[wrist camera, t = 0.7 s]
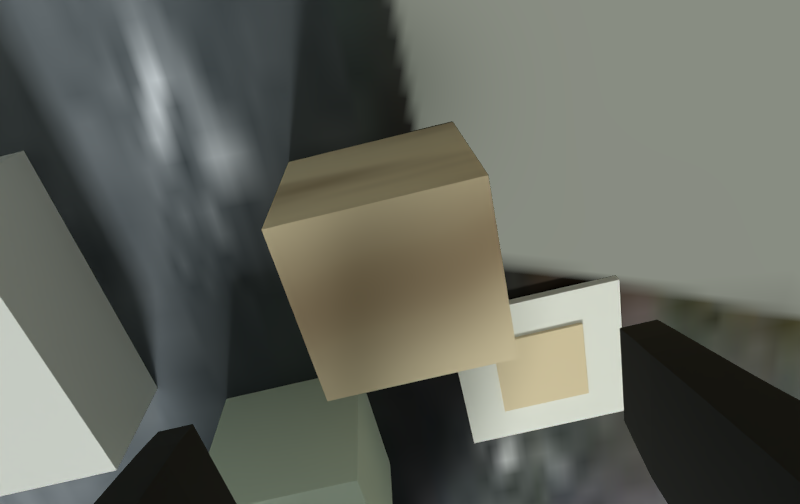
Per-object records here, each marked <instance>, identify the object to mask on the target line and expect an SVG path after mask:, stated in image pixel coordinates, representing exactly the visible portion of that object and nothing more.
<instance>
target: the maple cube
mask: <svg viewBox="0 0 800 504" xmlns="http://www.w3.org/2000/svg"><path fill="white" fill-rule="evenodd" d="M262 232H263V235H264V238H265V240H266V243H267V245H268V248H269V251H270V253H271V256H272V258H273V261H274V264H275V266H276V269H277V271H278V274H279V277H280V279H281V282H282V284H283V287H284V290H285V292H286V295H287V298H288V300H289V303H290V305H291V308H292V311H293V313H294V316H295V318H296V321H297V324H298V326H299V329H300V331H301V334H302V337H303V339H304V342H305V344H306V347H307V350H308V352H309V355H310V357H311V360H312V363H313V365H314V368H315V370H316V373H317V376H318V378H319V381H320V384H321V386H322V389H323V391H324V394H325V397H326V399H327V401H331V400H336V399H340V398H345V397H349V396H354V395H358V394H363V393H367V392H371V391H376V390H380V389H385V388H389V387H394V386H398V385H403V384H407V383H411V382H416V381H420V380H425V379H429V378H434V377H438V376H443V375H447V374H451V373H456V372H460V371H465V370H469V369H474V368H478V367H483V366H487V365H491V364H496V363H500V362H505V361H509V360H514V359H518V355H517V349H516V342H515V336H514V330H513V324H512V318H511V312H510V305H509V299H508V293H507V287H506V281H505V275H504V268H503V262H502V256H501V251H500V244H499V238H498V231H497V225H496V220H495V213H494V207H493V201H492V194H491V188H490V182H489V177H488V174H487V172H486V171H485V169H484V168H483V166H482V165H481V163H480V162H479V160H478V159H477V157H476V156H475V154H474V153H473V151H472V150H471V148H470V147H469V145H468V144H467V142H466V141H465V139H464V138H463V136H462V135H461V133H460V132H459V130H458V129H457V127H456V126H455V124H454V123H453V122H452V121H451V122H447V123H443V124H439V125H435V126H431V127H426V128H422V129H418V130H416V131H413V132H409V133H405V134H401V135H397V136H393V137H389V138H385V139H381V140H376V141H372V142H368V143H364V144H360V145H356V146H352V147H348V148H344V149H340V150H336V151H332V152H328V153H324V154H319V155H315V156H311V157H307V158H303V159H299V160H295V161H291V162H288V165H287V167H286V170H285V172H284V175H283V177H282V180H281V182H280V185H279V187H278V190H277V192H276V195H275V197H274V200H273V202H272V205H271V207H270V210H269V212H268V215H267V217H266V220H265V222H264V225H263V227H262Z"/></svg>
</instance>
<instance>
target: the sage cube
mask: <svg viewBox="0 0 800 504" xmlns="http://www.w3.org/2000/svg"><path fill="white" fill-rule="evenodd" d="M209 454H210V456H211V458H212V460H213V462H214V464H215V465H216V467H217V469H218V471H219V473H220V474H221V476H222V478H223V480H224V482H225V484H226V485H227V487H228V489H229V491H230V493H231V495H232V496H233V498H234V500H235V502H236V504H393V502H392V486H391V469H390V462H389V459H388V456H387V453H386V450H385V447H384V444H383V441H382V438H381V435H380V432H379V429H378V426H377V423H376V420H375V417H374V414H373V411H372V408H371V405H370V402H369V399H368V397H367V394H366V393H363V394H358V395H354V396H349V397H345V398H340V399H336V400H331V401H327V399H326V397H325V394H324V391H323V389H322V386H321V384H320V381H319V378H316V379H312V380H307V381H303V382H299V383H294V384H290V385H285V386H281V387H277V388H272V389H268V390H263V391H259V392H254V393H250V394H246V395H241V396H237V397H232V398H228V399H226V402H225V405H224V408H223V411H222V414H221V417H220V420H219V423H218V427H217V430H216V433H215V436H214V439H213V442H212V445H211V448H210V451H209Z"/></svg>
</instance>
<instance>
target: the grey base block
mask: <svg viewBox="0 0 800 504" xmlns="http://www.w3.org/2000/svg"><path fill="white" fill-rule="evenodd" d="M157 389H158V388H157V386H156V384H155V383H154V381H153V379H152V377H151V375H150V374H149V372H148V370H147V368H146V367H145V365H144V363H143V361H142V359H141V358H140V356H139V354H138V352H137V351H136V349H135V347H134V345H133V344H132V342H131V340H130V338H129V336H128V335H127V333H126V331H125V329H124V328H123V326H122V324H121V322H120V320H119V319H118V317H117V315H116V313H115V312H114V310H113V308H112V306H111V305H110V303H109V301H108V299H107V297H106V296H105V294H104V292H103V290H102V289H101V287H100V285H99V283H98V282H97V280H96V278H95V276H94V274H93V273H92V271H91V269H90V267H89V266H88V264H87V262H86V260H85V258H84V257H83V255H82V253H81V251H80V250H79V248H78V246H77V244H76V243H75V241H74V239H73V237H72V235H71V234H70V232H69V230H68V228H67V227H66V225H65V223H64V221H63V219H62V218H61V216H60V214H59V212H58V211H57V209H56V207H55V205H54V204H53V202H52V200H51V198H50V196H49V195H48V193H47V191H46V189H45V188H44V186H43V184H42V182H41V181H40V179H39V177H38V175H37V173H36V172H35V170H34V168H33V166H32V165H31V163H30V161H29V159H28V157H27V156H26V154H25V152H24V151H20V152H16V153H12V154H8V155H4V156H0V496H4V495H8V494H13V493H17V492H22V491H26V490H30V489H35V488H39V487H44V486H48V485H53V484H57V483H62V482H66V481H71V480H75V479H80V478H84V477H89V476H93V475H97V474H102V473H106V472H111V471H115V470H117V469H118V467H119V465H120V463H121V461H122V459H123V457H124V455H125V453H126V451H127V449H128V447H129V445H130V443H131V441H132V439H133V437H134V435H135V433H136V431H137V429H138V427H139V425H140V423H141V421H142V419H143V417H144V415H145V413H146V411H147V409H148V407H149V405H150V403H151V401H152V399H153V397H154V395H155V393H156V391H157Z"/></svg>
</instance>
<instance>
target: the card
mask: <svg viewBox="0 0 800 504" xmlns="http://www.w3.org/2000/svg"><path fill="white" fill-rule="evenodd" d="M509 305H510V312H511V318H512V324H513V330H514V336H515V342H516V349H517V355H518V359H514V360H509V361H505V362H500V363H496V364H491V365H487V366H483V367H478V368H474V369H469V370H465V371H460V372H458V375H459V379H460V384H461V388H462V392H463V397H464V401H465V405H466V410H467V414H468V418H469V423H470V427H471V431H472V436H473V440H474V443H478V442H482V441H487V440H492V439H496V438H501V437H505V436H510V435H514V434H519V433H524V432H528V431H533V430H537V429H542V428H546V427H551V426H556V425H560V424H565V423H569V422H574V421H578V420H583V419H588V418H592V417H597V416H601V415H606V414H611V413H615V412H620V411H624V403H623V384H622V364H621V345H620V328H622V324H621V304H620V284H619V279H618V278H617V276H616V275H615V276H610V277H606V278H602V279H597V280H593V281H589V282H584V283H580V284H576V285H571V286H567V287H563V288H558V289H554V290H549V291H545V292H541V293H536V294H532V295H528V296H523V297H519V298H515V299H510V300H509Z"/></svg>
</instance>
